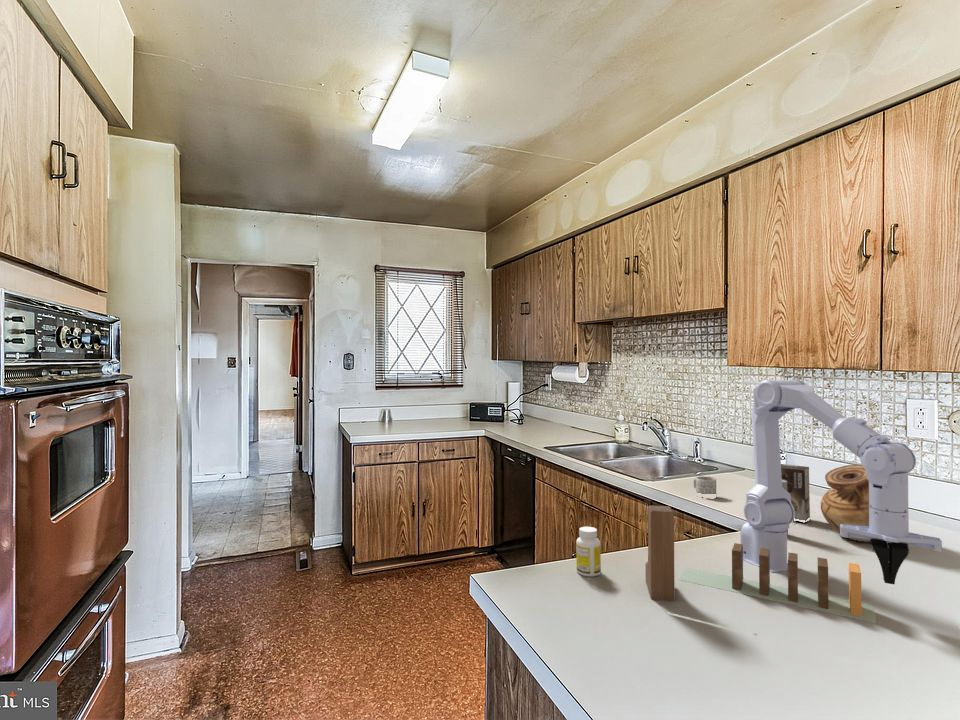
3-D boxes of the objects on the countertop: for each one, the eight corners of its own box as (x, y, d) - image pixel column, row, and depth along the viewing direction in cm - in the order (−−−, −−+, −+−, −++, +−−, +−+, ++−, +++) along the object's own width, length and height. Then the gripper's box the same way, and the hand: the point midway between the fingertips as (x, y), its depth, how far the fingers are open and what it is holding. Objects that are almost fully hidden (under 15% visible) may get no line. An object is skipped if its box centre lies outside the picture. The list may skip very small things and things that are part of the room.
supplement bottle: (597, 567, 117) (597, 525, 117) (603, 577, 112) (603, 532, 112) (574, 567, 117) (574, 525, 117) (579, 577, 111) (579, 533, 112)
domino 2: (759, 594, 102) (759, 554, 102) (761, 585, 106) (760, 547, 107) (768, 596, 101) (768, 556, 101) (769, 587, 106) (769, 549, 106)
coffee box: (810, 519, 154) (810, 466, 154) (806, 524, 149) (805, 469, 149) (777, 513, 160) (776, 462, 160) (771, 517, 155) (771, 465, 156)
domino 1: (732, 588, 105) (731, 550, 105) (734, 579, 109) (734, 543, 109) (740, 590, 104) (740, 551, 104) (743, 581, 108) (742, 544, 108)
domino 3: (788, 600, 100) (787, 560, 100) (788, 591, 104) (788, 552, 104) (797, 602, 99) (797, 561, 99) (797, 593, 103) (797, 553, 103)
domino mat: (679, 581, 109) (679, 579, 109) (686, 569, 116) (686, 567, 116) (877, 625, 91) (877, 623, 91) (872, 607, 98) (872, 605, 98)
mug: (720, 498, 178) (720, 479, 178) (704, 499, 176) (704, 480, 177) (701, 491, 188) (701, 474, 188) (686, 492, 186) (686, 474, 186)
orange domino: (850, 614, 94) (850, 571, 94) (849, 603, 98) (848, 562, 98) (861, 616, 93) (861, 573, 93) (859, 605, 97) (858, 564, 97)
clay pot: (804, 528, 145) (804, 459, 145) (864, 526, 147) (863, 458, 147) (860, 553, 126) (860, 473, 126) (928, 550, 128) (927, 471, 128)
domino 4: (818, 607, 97) (818, 565, 97) (817, 597, 101) (817, 557, 101) (828, 609, 96) (828, 567, 96) (827, 599, 100) (827, 558, 100)
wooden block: (645, 582, 109) (645, 499, 109) (667, 584, 108) (666, 500, 108) (651, 601, 100) (650, 510, 100) (674, 603, 99) (674, 512, 99)
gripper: (841, 507, 94) (842, 580, 94) (945, 520, 86) (946, 600, 86) (839, 499, 100) (839, 567, 100) (936, 510, 92) (937, 585, 92)
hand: (889, 581), depth 93 cm, fingers closed
